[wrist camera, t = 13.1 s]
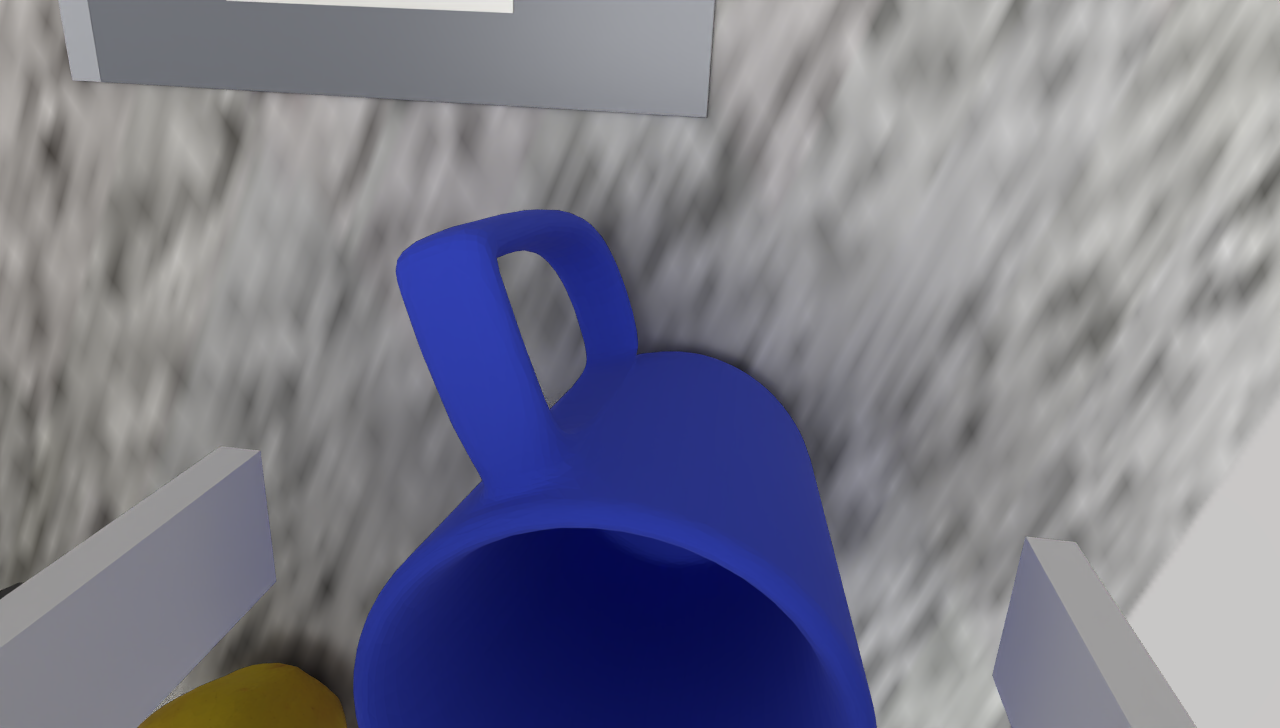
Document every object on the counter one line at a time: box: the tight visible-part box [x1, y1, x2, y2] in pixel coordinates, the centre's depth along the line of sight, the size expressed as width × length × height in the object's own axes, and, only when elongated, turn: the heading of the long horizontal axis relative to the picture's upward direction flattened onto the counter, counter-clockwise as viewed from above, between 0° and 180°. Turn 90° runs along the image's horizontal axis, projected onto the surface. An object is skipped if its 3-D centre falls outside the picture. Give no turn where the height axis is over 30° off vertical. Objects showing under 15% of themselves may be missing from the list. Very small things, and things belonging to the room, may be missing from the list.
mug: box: [353, 210, 877, 728], centre depth 17 cm, size 8×12×10 cm
